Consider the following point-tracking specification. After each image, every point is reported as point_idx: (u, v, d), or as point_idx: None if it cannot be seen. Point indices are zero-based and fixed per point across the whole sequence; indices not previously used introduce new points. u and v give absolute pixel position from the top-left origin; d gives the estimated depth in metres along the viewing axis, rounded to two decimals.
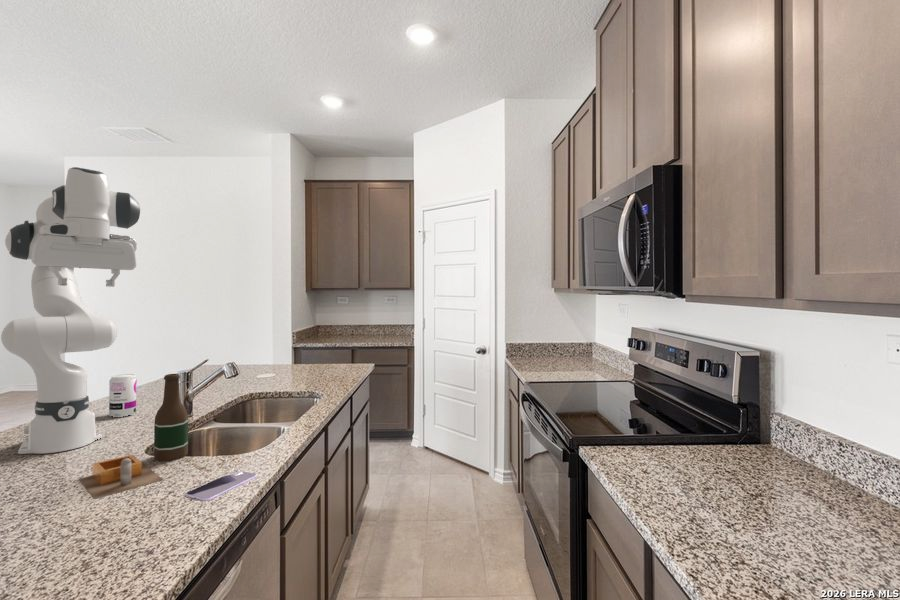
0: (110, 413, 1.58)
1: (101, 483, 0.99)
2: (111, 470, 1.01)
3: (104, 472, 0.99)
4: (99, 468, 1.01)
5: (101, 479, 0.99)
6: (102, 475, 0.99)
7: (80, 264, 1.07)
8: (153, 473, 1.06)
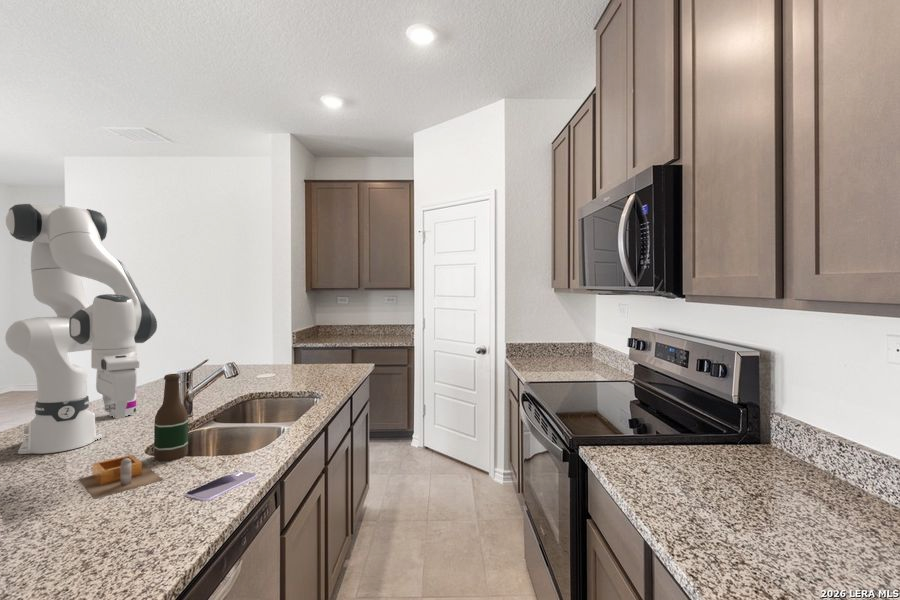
0: (110, 413, 1.58)
1: (101, 483, 0.99)
2: (111, 470, 1.01)
3: (104, 472, 0.99)
4: (99, 468, 1.01)
5: (101, 479, 0.99)
6: (102, 475, 0.99)
7: None
8: (153, 473, 1.06)
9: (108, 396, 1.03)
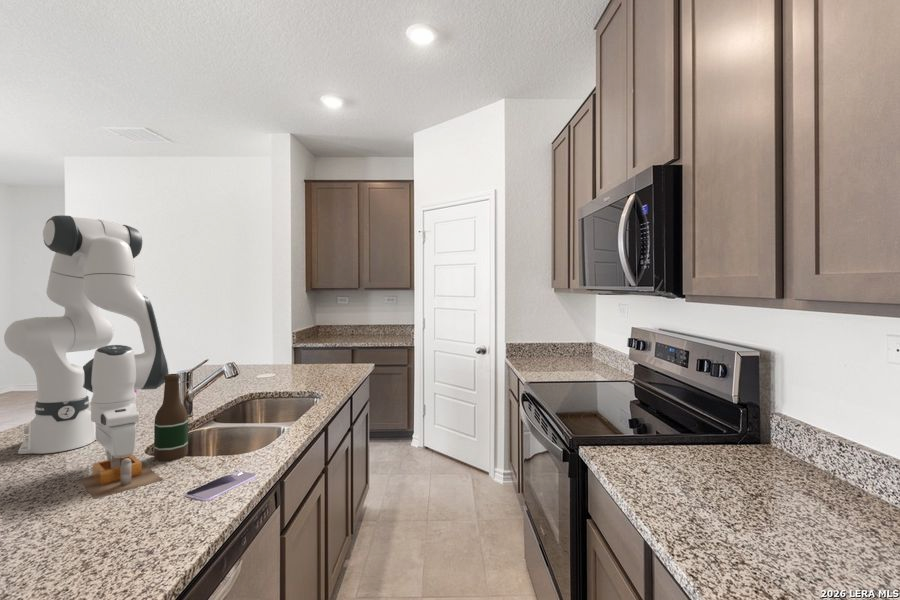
0: None
1: (101, 483, 0.99)
2: (111, 470, 1.01)
3: (104, 472, 1.00)
4: (99, 468, 1.01)
5: (101, 479, 0.99)
6: (102, 475, 0.99)
7: None
8: (153, 473, 1.06)
9: (107, 449, 1.04)
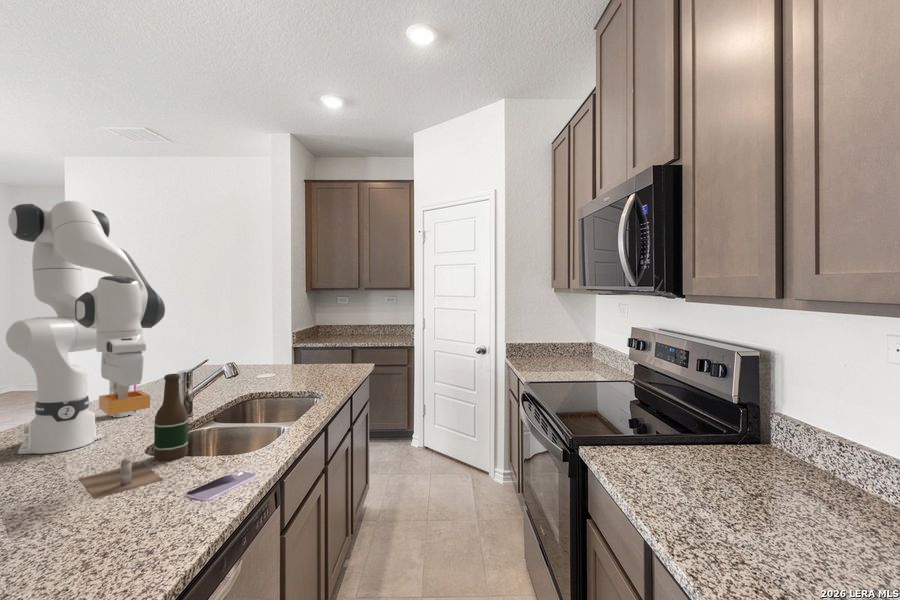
0: None
1: (108, 413, 0.95)
2: (119, 400, 0.97)
3: (111, 402, 0.96)
4: (106, 399, 0.97)
5: (108, 409, 0.95)
6: (109, 405, 0.96)
7: None
8: (153, 473, 1.06)
9: (114, 380, 1.00)
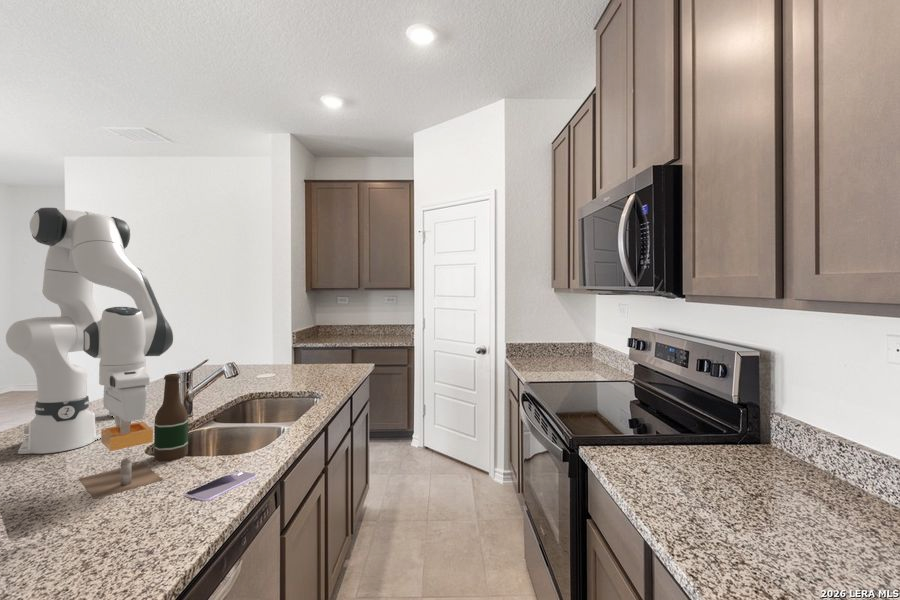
0: (110, 413, 1.58)
1: (111, 449, 0.94)
2: (121, 436, 0.96)
3: (114, 438, 0.95)
4: (108, 434, 0.96)
5: (111, 445, 0.94)
6: (112, 441, 0.94)
7: None
8: (153, 473, 1.06)
9: (117, 414, 0.99)
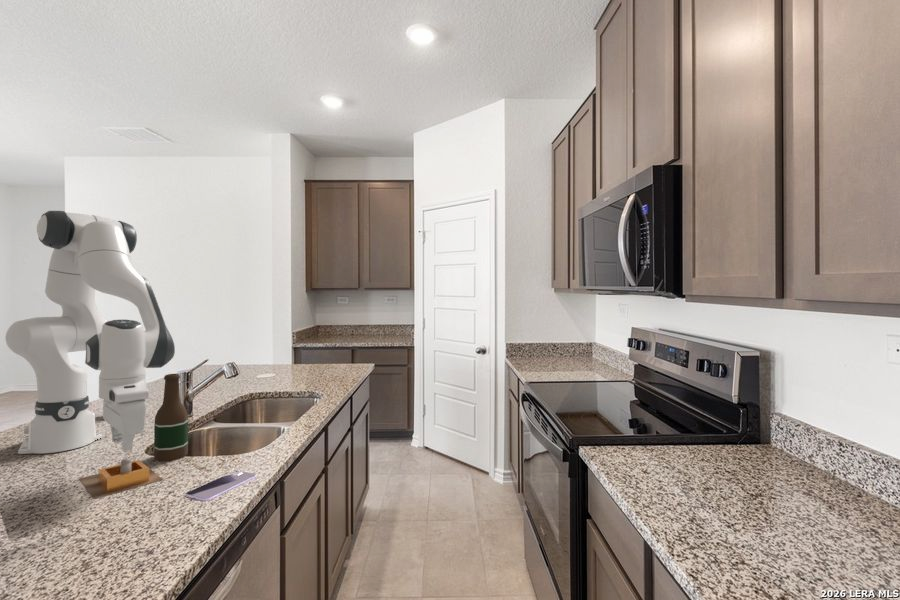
0: None
1: (107, 490, 0.96)
2: (118, 476, 0.97)
3: (111, 479, 0.96)
4: (105, 474, 0.98)
5: (107, 486, 0.96)
6: (108, 482, 0.96)
7: None
8: (153, 473, 1.06)
9: (116, 428, 0.99)
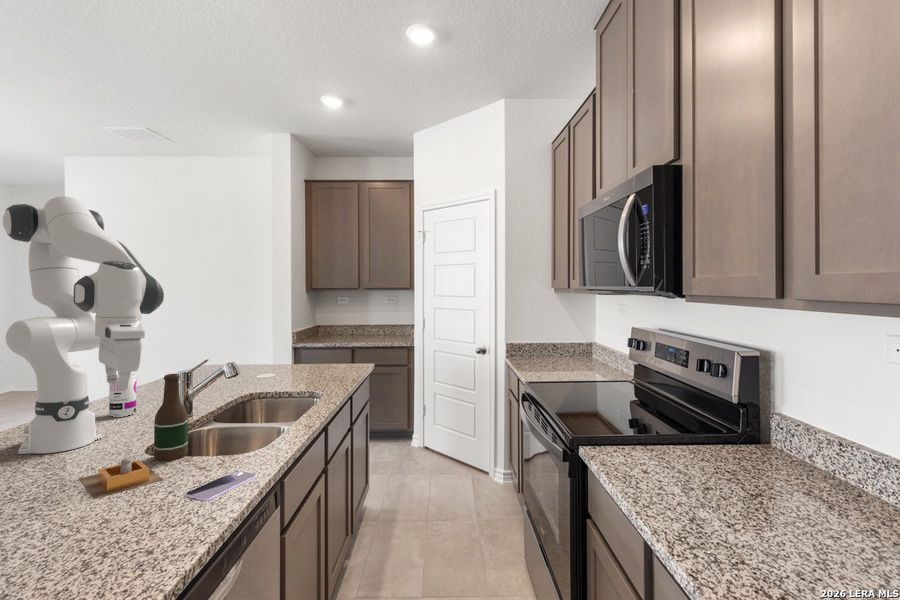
0: (110, 413, 1.58)
1: (107, 490, 0.96)
2: (118, 476, 0.97)
3: (111, 479, 0.96)
4: (105, 474, 0.98)
5: (107, 486, 0.96)
6: (108, 482, 0.96)
7: None
8: (153, 473, 1.06)
9: (111, 366, 1.00)
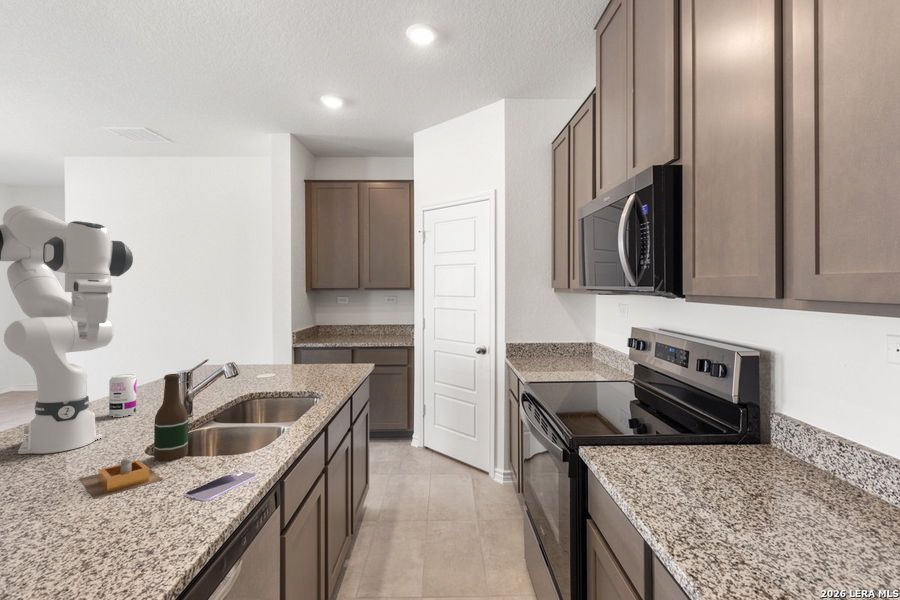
0: (110, 413, 1.58)
1: (107, 490, 0.96)
2: (118, 476, 0.97)
3: (111, 479, 0.96)
4: (105, 474, 0.98)
5: (107, 486, 0.96)
6: (108, 482, 0.96)
7: None
8: (153, 473, 1.06)
9: (81, 320, 1.05)
